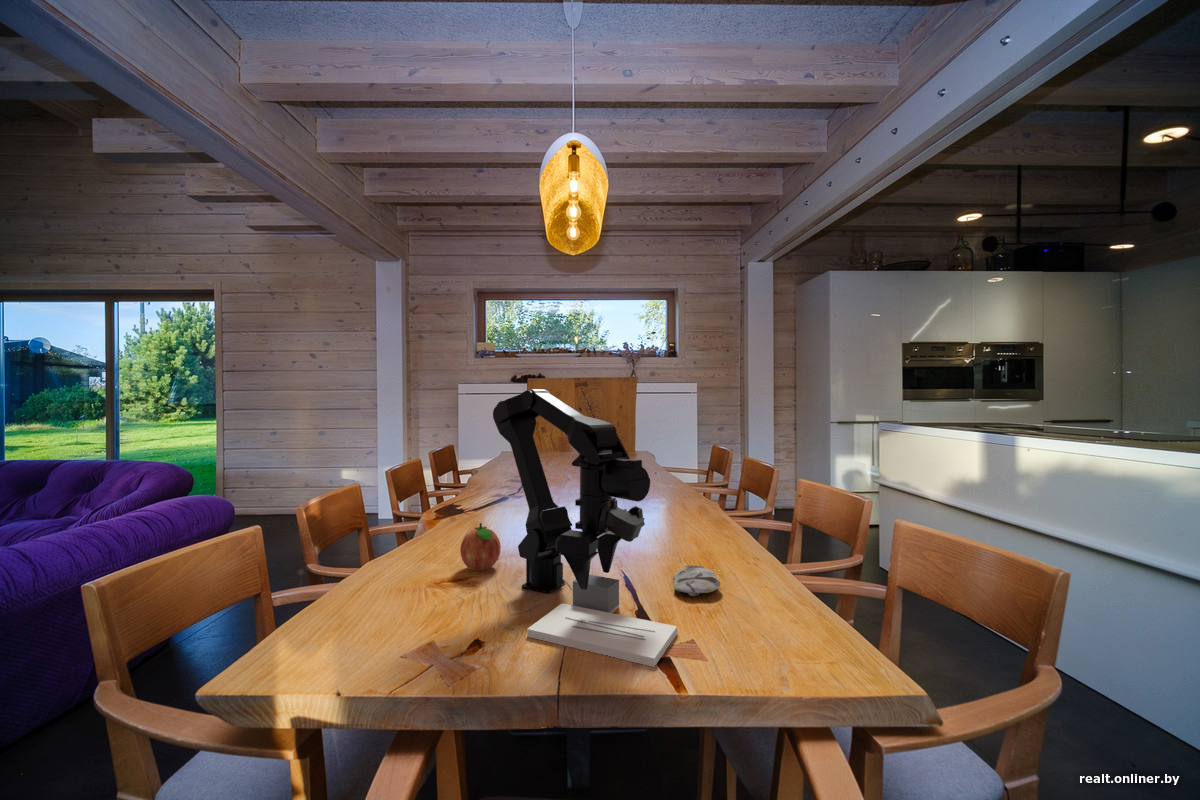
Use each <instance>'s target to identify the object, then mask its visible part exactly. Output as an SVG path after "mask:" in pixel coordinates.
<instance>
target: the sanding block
mask: <svg viewBox="0 0 1200 800" xmlns="http://www.w3.org/2000/svg"><path fill="white" fill-rule="evenodd" d="M572 605H573V606H578V607H583V608H588V609H593V610H598V611H603V612H608V613H613V614H614V612H615V611H616V610H617V609H619V608H620V579H616V578H611V577H606V576H599V575H593V574H589V580H588V586H587V589H586V590H583V589H581V588H580V586H579V584H578V582H577V580H576V579H574V580H572Z"/></svg>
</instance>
